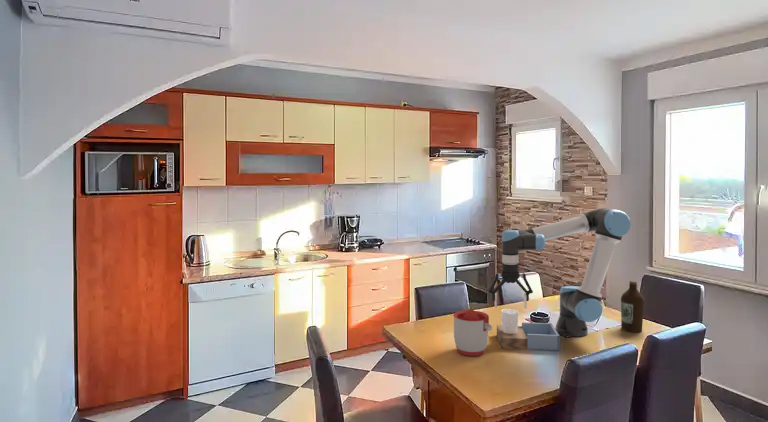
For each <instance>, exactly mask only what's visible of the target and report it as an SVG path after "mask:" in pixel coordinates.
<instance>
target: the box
mask: <svg viewBox="0 0 768 422" xmlns="http://www.w3.org/2000/svg"><path fill="white" fill-rule="evenodd" d="M521 326H522V328H523V330H524V332H525V334H526V337H527V339H528V342H527V350H528V351H531V350H532V351H548V352H549V351H552V352H553V351H555V352H560V342H561V341H560V333H558V332H557V331H556V327H554V325H553V323H551V322H549V323H547V322H528V321H527V322H526V321H525V322H524V321H523V322H521Z"/></svg>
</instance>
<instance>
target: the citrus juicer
mask: <svg viewBox="0 0 768 422" xmlns="http://www.w3.org/2000/svg"><path fill="white" fill-rule="evenodd" d="M492 330H493V326H492V324H490V317H489V314H488V313H486V312H483V311H478V310H474V309H473V308H469V309H468V310H467V309H466V310H459V311H458V310H457V311H456V312H454V313H453V338H454V343H455V347H456V350H457V352H458V354H460V355H463V356H468V357H478V356H482V355H483V354H484V352H485V351H486V348H487V344H488V339H489V338H488V337H489V331H490V332H491V331H492Z"/></svg>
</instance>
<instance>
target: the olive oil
mask: <svg viewBox="0 0 768 422" xmlns="http://www.w3.org/2000/svg"><path fill="white" fill-rule="evenodd" d="M637 283H638V282H637V281H635V280H630V281H629V286H628V287H629V288H628V289H627V290H625V292H623V293H622V295H621V297H620V314H621V315H620V316H621V317H620V318H621V320H620V324H621V326H620V327H621V330H623V331H625V332H629V333H641V332H642V331H643V323H644V310H645V298H644V295H643V294H642V293H641V292H640V291H639V290H638V289H637V288H638V284H637Z"/></svg>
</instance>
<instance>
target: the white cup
mask: <svg viewBox="0 0 768 422" xmlns="http://www.w3.org/2000/svg"><path fill="white" fill-rule="evenodd" d="M500 316H501V326H502V331H503V332H504V333H507V334H515V333H517V326H519V310H517V309H513V308H503V309H501V315H500Z"/></svg>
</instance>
